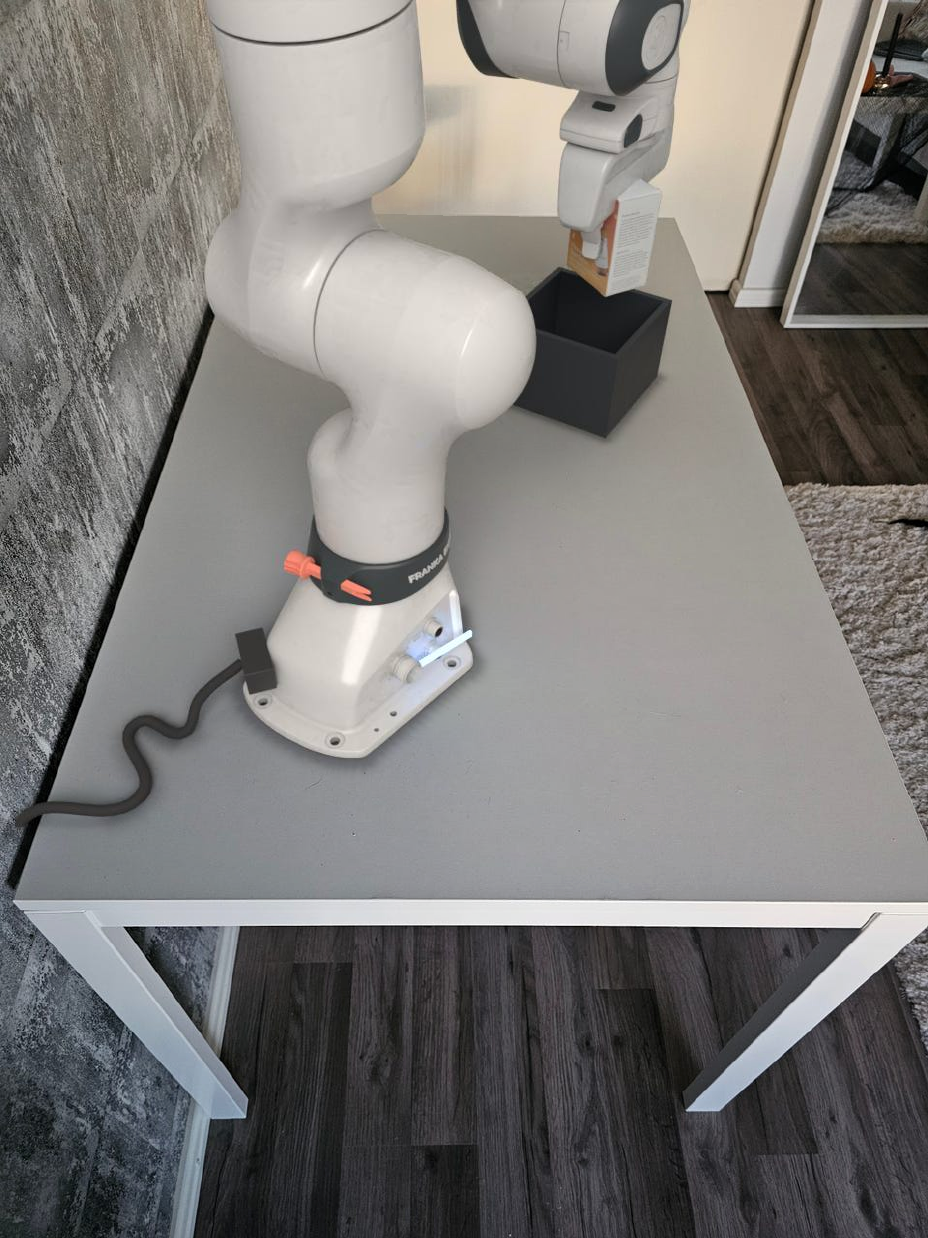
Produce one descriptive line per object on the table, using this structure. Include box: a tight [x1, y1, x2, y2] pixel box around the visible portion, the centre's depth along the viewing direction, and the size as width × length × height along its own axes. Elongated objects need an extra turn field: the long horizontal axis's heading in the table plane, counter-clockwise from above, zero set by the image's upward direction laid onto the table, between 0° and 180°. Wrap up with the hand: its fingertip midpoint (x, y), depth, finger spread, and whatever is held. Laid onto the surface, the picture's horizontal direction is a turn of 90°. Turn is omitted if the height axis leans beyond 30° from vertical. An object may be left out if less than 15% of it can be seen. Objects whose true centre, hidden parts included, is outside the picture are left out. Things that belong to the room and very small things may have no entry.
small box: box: [566, 179, 663, 297], centre depth 98 cm, size 8×6×10 cm
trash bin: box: [512, 266, 673, 439], centre depth 113 cm, size 16×16×11 cm
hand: (609, 239), depth 99 cm, fingers closed on small box, 7 cm apart
